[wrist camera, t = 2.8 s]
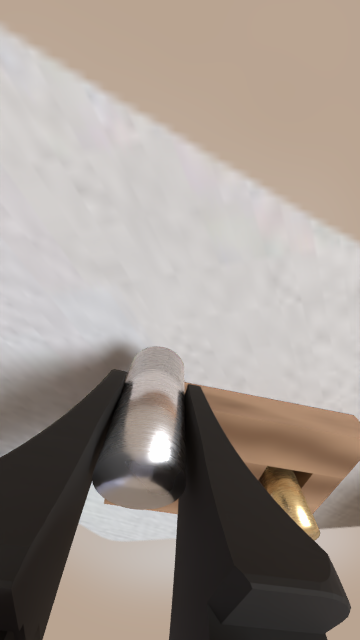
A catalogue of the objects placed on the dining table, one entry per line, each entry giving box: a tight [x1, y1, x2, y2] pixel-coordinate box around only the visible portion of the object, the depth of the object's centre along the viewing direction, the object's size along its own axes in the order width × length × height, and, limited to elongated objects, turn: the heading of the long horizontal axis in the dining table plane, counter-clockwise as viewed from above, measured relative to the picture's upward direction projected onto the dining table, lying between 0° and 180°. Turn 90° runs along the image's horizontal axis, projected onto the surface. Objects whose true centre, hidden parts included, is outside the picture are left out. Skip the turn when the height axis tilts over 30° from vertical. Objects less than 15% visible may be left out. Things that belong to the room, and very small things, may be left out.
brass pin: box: [260, 466, 320, 540], centre depth 19 cm, size 3×3×6 cm
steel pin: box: [92, 347, 186, 510], centre depth 10 cm, size 3×3×6 cm
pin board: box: [104, 382, 360, 514], centre depth 20 cm, size 14×20×2 cm
